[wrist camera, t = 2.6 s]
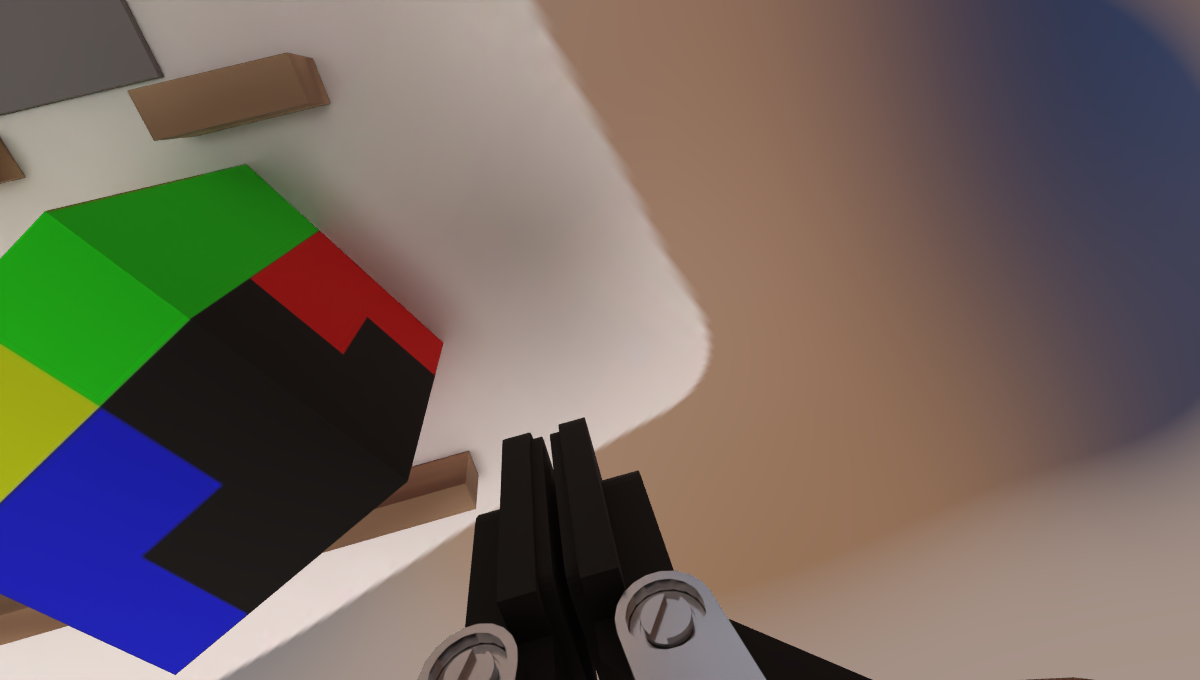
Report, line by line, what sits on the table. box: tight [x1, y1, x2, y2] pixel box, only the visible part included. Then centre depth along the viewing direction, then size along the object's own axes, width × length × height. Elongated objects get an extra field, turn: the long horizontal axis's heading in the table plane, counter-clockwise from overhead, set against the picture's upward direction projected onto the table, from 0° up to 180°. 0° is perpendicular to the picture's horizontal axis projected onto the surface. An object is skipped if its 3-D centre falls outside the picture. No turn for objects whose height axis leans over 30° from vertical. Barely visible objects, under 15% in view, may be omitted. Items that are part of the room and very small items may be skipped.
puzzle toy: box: [0, 164, 443, 675], centre depth 19 cm, size 10×10×10 cm
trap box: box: [0, 53, 478, 645], centre depth 21 cm, size 19×26×4 cm
